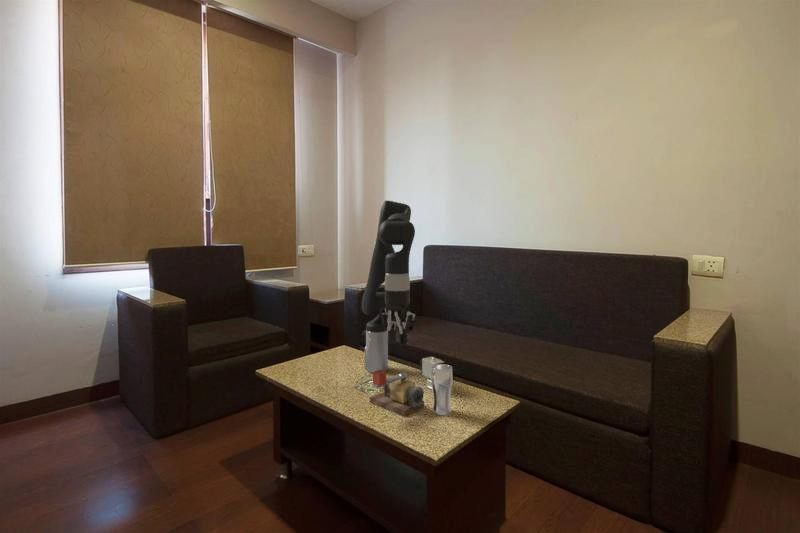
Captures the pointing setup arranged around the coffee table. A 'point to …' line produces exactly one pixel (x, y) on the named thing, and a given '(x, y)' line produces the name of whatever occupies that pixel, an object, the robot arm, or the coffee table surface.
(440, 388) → the beer glass
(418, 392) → the valve pipe
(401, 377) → the valve lever
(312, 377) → the coffee table surface
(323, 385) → the coffee table surface
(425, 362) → the pneumatic valve
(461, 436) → the coffee table surface
